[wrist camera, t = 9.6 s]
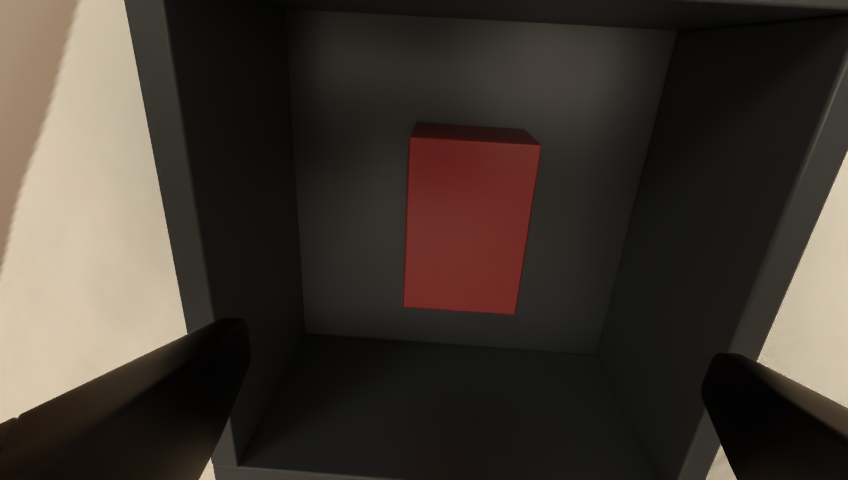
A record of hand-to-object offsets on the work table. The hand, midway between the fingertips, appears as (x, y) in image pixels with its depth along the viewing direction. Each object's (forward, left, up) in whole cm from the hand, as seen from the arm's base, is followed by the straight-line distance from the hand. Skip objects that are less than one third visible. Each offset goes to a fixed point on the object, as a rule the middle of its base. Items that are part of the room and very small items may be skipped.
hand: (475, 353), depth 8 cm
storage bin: (0, 0, -10) cm, 10 cm away
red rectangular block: (0, 0, -9) cm, 9 cm away
